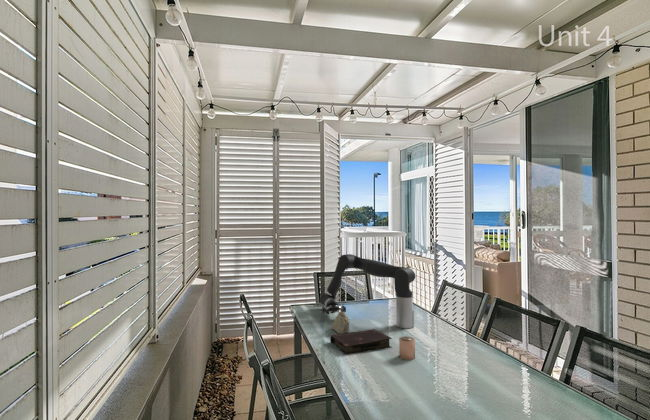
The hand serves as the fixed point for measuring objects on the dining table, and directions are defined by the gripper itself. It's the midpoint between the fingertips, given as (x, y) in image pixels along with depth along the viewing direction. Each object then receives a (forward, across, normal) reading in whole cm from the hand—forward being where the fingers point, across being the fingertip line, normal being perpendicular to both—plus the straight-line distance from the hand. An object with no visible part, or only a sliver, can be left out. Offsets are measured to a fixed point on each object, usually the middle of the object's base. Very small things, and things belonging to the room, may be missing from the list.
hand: (335, 312), depth 220 cm
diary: (+37, +6, +7) cm, 38 cm away
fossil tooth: (+15, 0, +7) cm, 16 cm away
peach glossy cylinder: (+55, +23, +6) cm, 60 cm away
